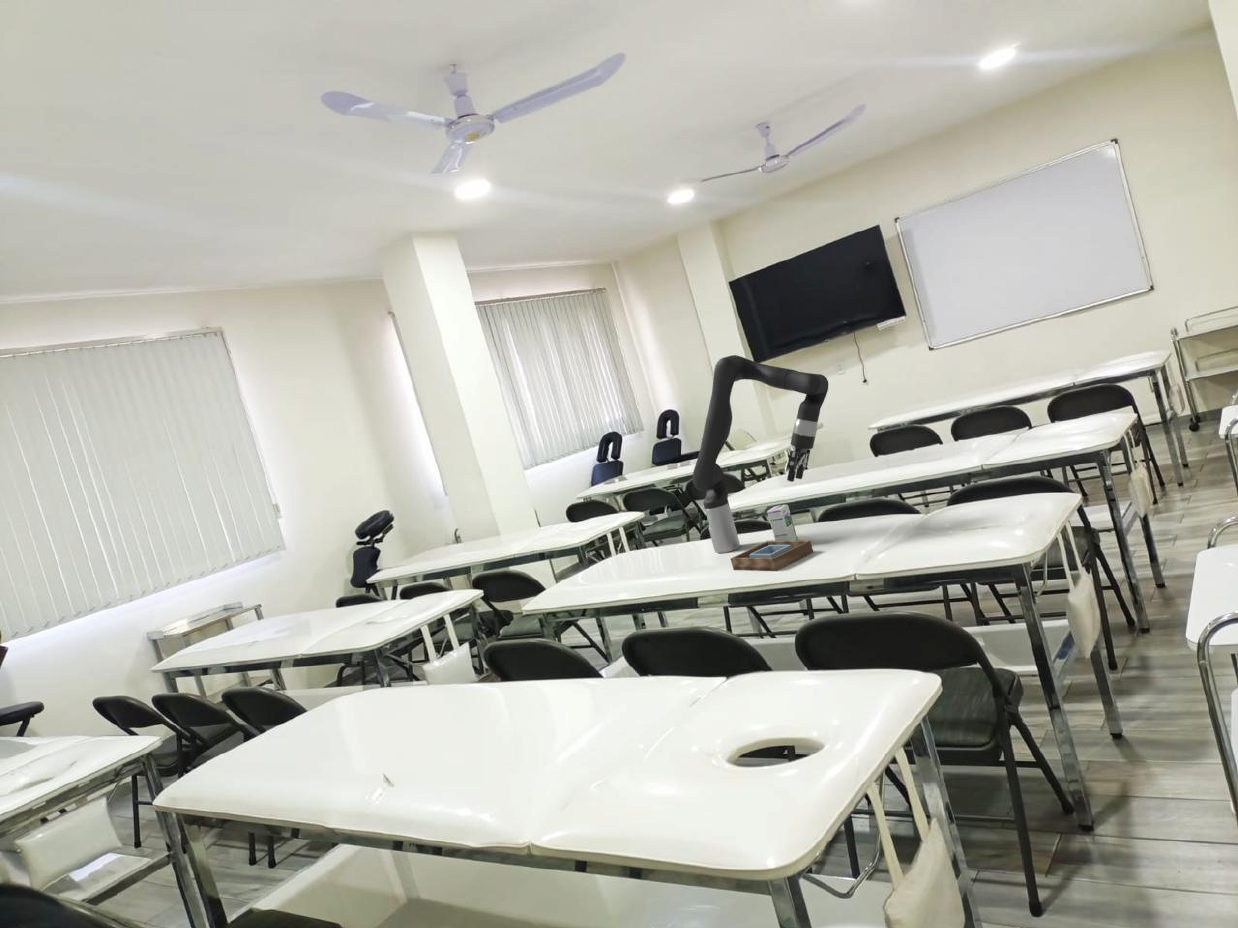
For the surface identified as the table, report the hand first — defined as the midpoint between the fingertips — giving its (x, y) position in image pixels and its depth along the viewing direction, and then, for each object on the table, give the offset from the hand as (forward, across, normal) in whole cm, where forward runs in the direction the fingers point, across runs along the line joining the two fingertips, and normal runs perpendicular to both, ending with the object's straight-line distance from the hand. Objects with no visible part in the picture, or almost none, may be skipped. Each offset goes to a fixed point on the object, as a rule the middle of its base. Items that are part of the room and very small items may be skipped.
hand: (794, 479), depth 275 cm
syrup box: (+25, -6, +1) cm, 25 cm away
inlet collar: (+26, +10, +2) cm, 28 cm away
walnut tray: (+26, +10, +2) cm, 28 cm away
